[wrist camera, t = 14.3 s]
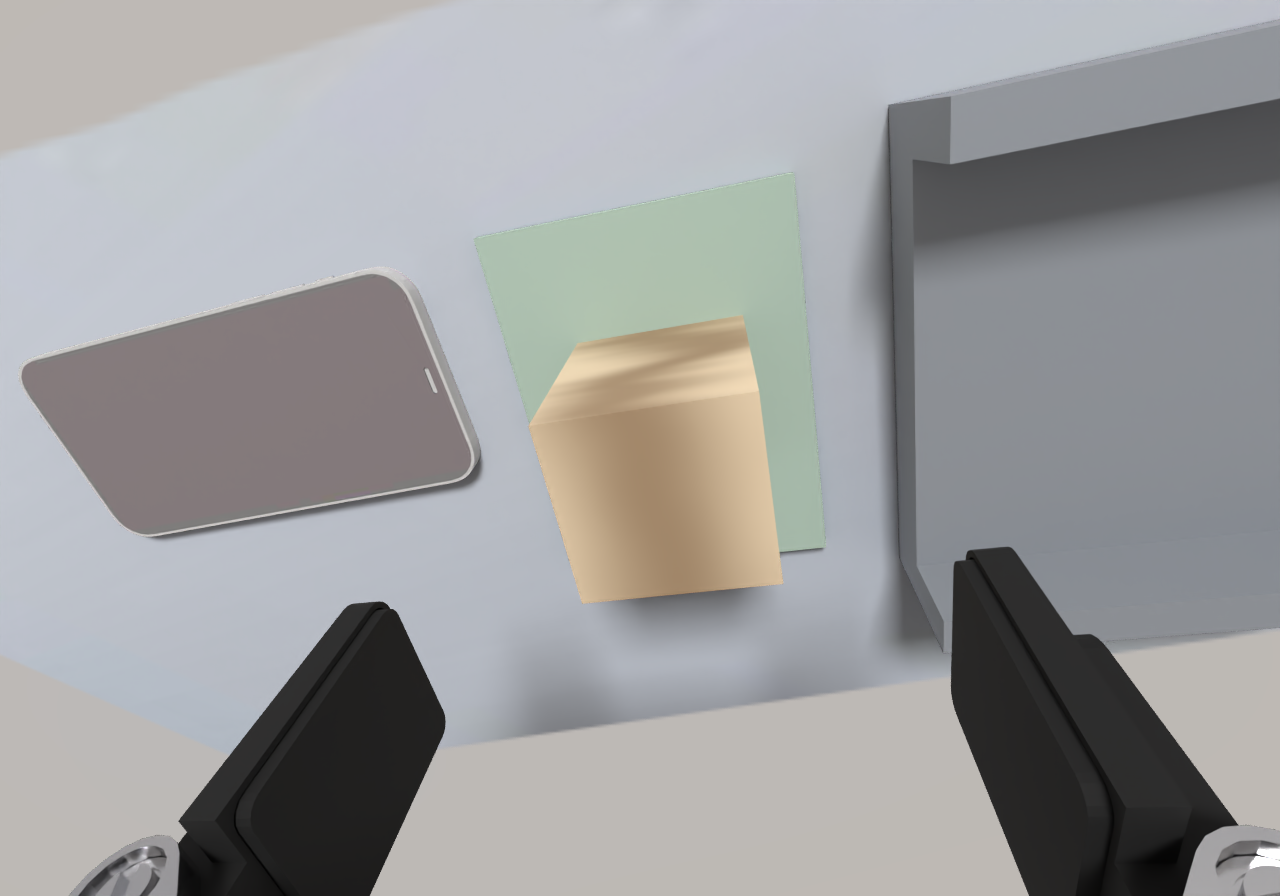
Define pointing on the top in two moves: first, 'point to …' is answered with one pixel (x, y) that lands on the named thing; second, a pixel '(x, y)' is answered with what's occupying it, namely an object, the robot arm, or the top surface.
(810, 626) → the top surface
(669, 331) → the beech block
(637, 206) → the sage mat
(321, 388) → the smartphone
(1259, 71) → the gray u-shaped channel
